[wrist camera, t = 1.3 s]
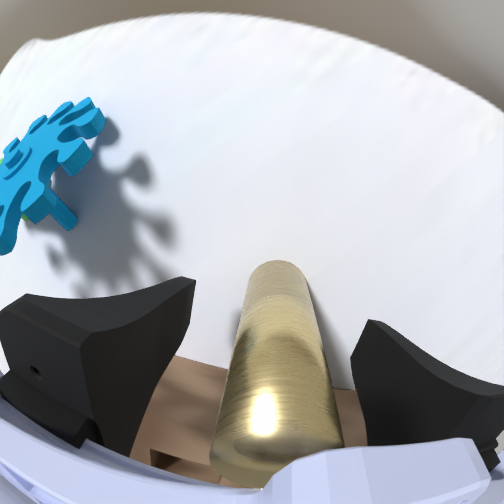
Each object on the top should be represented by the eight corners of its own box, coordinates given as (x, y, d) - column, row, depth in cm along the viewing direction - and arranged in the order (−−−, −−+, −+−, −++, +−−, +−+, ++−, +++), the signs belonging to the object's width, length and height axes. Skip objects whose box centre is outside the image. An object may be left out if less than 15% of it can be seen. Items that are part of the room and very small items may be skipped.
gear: (131, 70, 10) (-2, 259, 6) (168, 155, 15) (100, 324, 11) (16, 117, 12) (-63, 240, 8) (53, 169, 17) (-4, 284, 13)
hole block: (145, 442, 20) (127, 483, 15) (142, 344, 16) (107, 396, 11) (336, 475, 19) (341, 515, 15) (402, 393, 16) (425, 444, 11)
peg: (242, 307, 15) (202, 479, 5) (255, 253, 14) (219, 414, 4) (297, 319, 15) (315, 492, 5) (313, 268, 14) (371, 432, 4)
